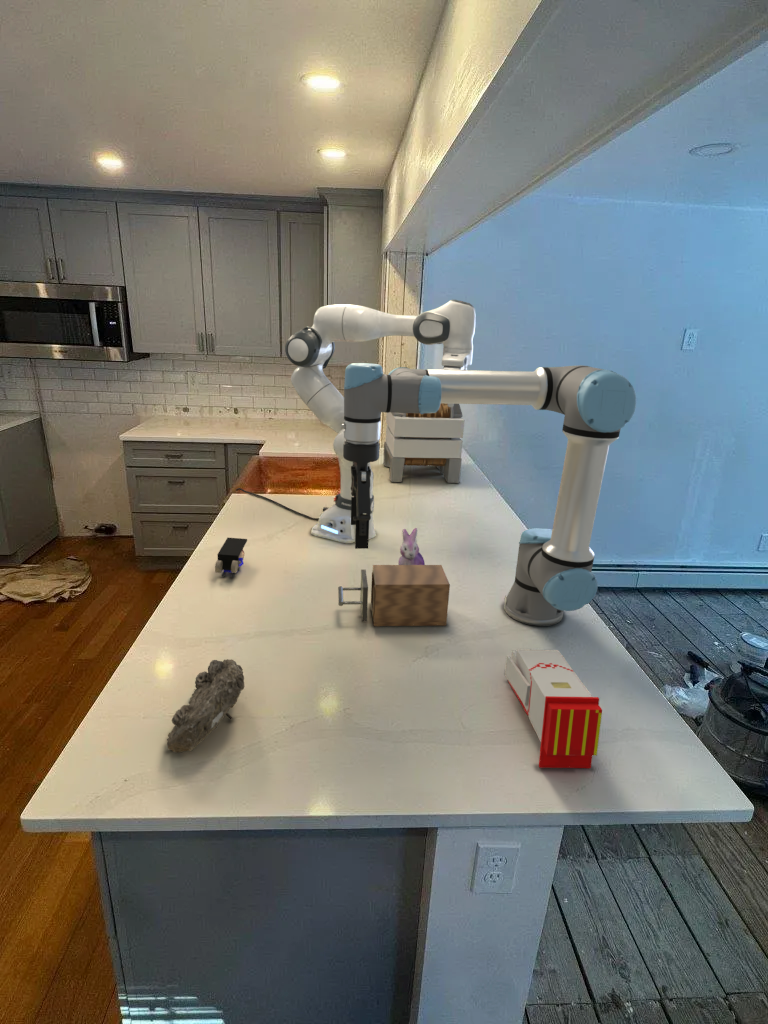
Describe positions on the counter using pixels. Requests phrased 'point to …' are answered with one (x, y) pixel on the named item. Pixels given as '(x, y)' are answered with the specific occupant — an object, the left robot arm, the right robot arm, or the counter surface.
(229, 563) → the figurine character
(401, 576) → the cabinet
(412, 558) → the figurine
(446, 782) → the counter surface
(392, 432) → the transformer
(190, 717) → the fossil
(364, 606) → the drawer
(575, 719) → the toy
